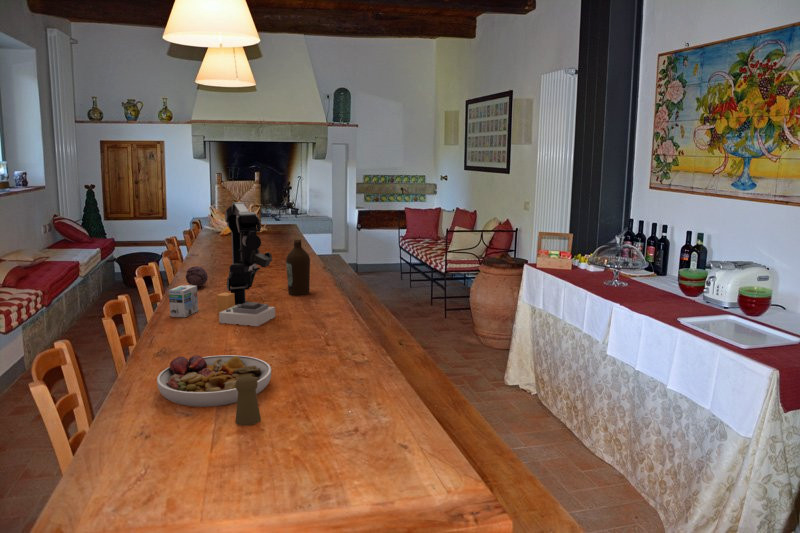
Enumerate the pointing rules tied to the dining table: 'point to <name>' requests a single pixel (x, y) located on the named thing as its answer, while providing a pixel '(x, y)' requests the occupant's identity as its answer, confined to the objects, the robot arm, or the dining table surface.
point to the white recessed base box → (247, 315)
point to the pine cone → (196, 276)
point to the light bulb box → (183, 301)
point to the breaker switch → (250, 305)
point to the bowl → (210, 379)
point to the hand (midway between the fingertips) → (249, 287)
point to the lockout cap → (225, 301)
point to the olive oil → (298, 270)
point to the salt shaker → (247, 401)
